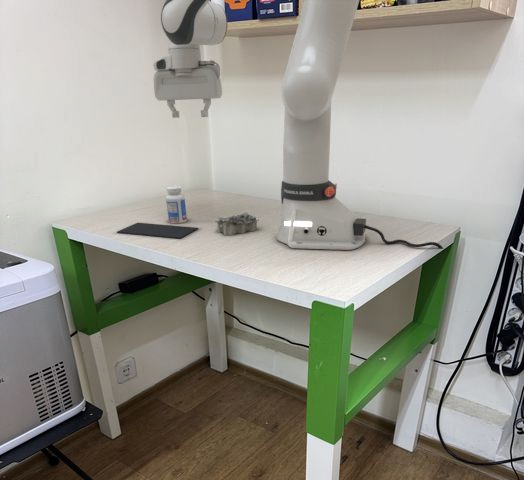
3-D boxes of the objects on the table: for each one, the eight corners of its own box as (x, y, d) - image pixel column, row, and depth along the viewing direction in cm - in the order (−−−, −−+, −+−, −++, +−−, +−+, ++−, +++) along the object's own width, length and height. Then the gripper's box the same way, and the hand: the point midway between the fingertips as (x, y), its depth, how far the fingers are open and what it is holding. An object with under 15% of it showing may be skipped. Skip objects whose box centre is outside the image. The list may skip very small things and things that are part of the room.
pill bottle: (182, 218, 145) (179, 184, 140) (190, 221, 141) (186, 187, 136) (165, 220, 143) (161, 187, 138) (172, 224, 139) (168, 189, 134)
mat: (198, 229, 134) (198, 227, 134) (180, 238, 126) (180, 237, 126) (137, 223, 140) (137, 222, 140) (117, 232, 132) (117, 231, 132)
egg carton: (226, 236, 127) (225, 221, 125) (214, 230, 132) (212, 215, 130) (260, 230, 131) (260, 215, 129) (247, 224, 137) (246, 209, 135)
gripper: (224, 60, 132) (227, 116, 138) (159, 64, 139) (165, 117, 145) (214, 59, 127) (218, 117, 133) (148, 63, 133) (154, 118, 140)
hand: (190, 117), depth 139 cm, fingers open, 8 cm apart
